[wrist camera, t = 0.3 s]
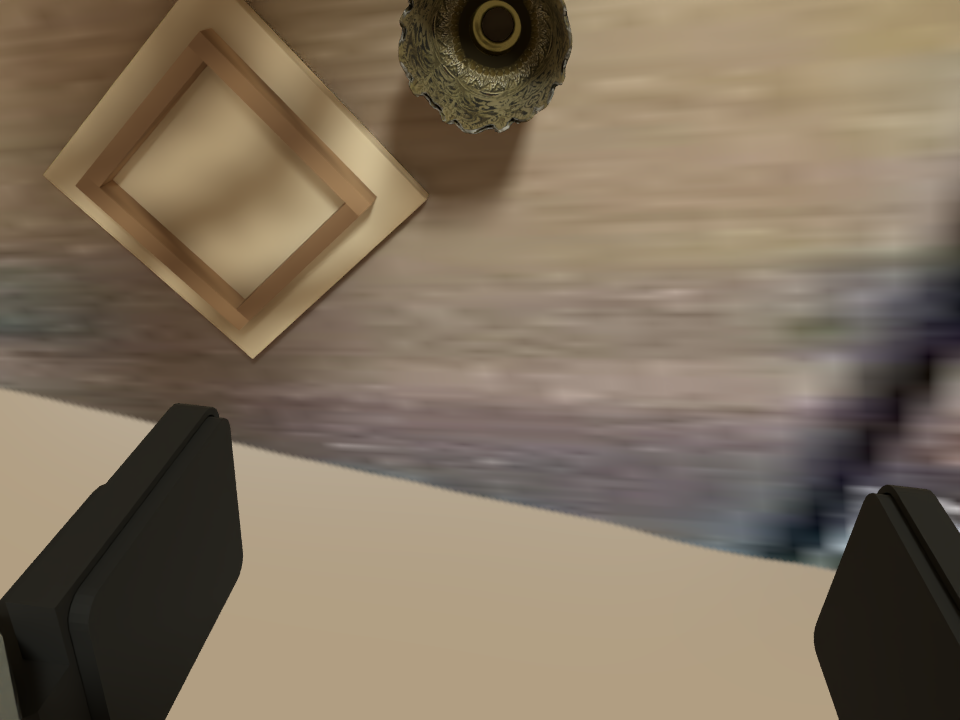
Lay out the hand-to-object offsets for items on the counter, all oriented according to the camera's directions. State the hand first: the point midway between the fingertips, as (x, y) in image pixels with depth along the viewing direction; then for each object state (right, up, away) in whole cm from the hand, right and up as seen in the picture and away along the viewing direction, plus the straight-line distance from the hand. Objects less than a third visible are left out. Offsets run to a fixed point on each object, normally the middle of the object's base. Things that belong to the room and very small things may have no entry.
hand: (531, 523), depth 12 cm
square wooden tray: (-15, +13, +34) cm, 39 cm away
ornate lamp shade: (0, +20, +29) cm, 35 cm away
